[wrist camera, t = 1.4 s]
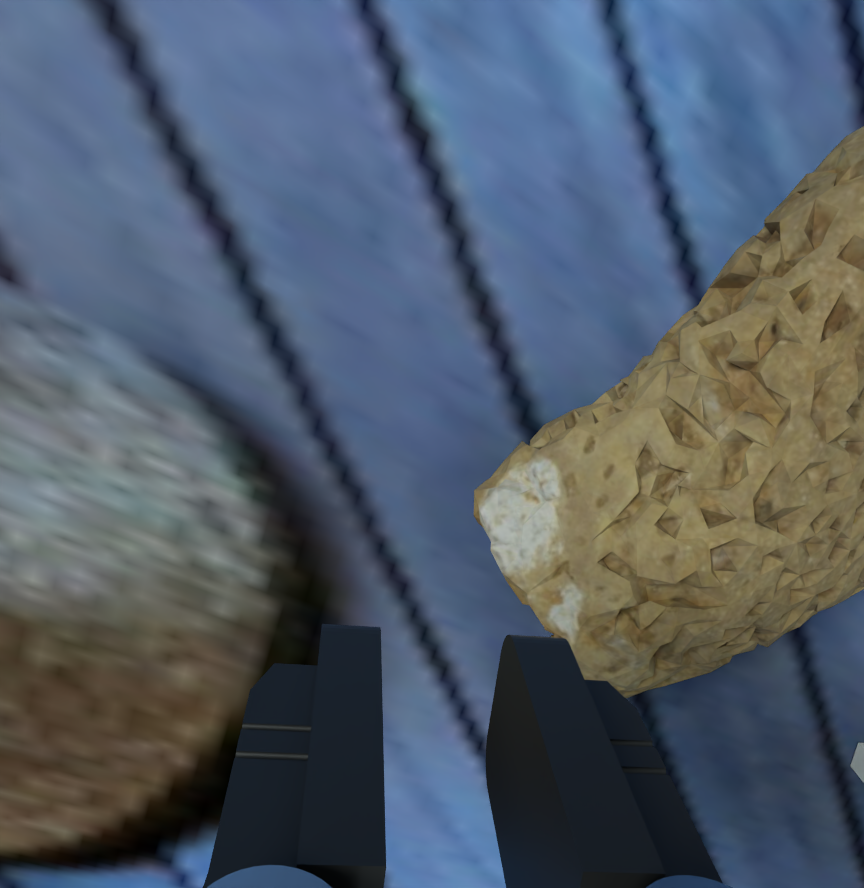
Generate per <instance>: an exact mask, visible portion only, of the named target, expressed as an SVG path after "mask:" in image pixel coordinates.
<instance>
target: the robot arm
mask: <svg viewBox="0 0 864 888" xmlns="http://www.w3.org/2000/svg"><path fill="white" fill-rule="evenodd" d="M486 778H487V788H488V793H489V799H490V804H491V809H492V815H493V820H494V825H495V830H496V836H497V841H498V846H499V851H500V857H501V862H502V867H503V873H504V878H505V883H506V888H732V887H730V886H728V885H725V884H723V883H722V881H721V879H720V877H719V875H718V873H717V871H716V869H715V867H714V865H713V863H712V861H711V858H710V856H709V854H708V852H707V850H706V848H705V846H704V844H703V842H702V840H701V838H700V836H699V834H698V832H697V830H696V828H695V826H694V824H693V822H692V820H691V818H690V816H689V814H688V812H687V810H686V808H685V806H684V804H683V802H682V800H681V798H680V796H679V794H678V792H677V790H676V788H675V786H674V784H673V782H672V780H671V778H670V775H666V767H665V765H664V763H663V761H662V759H661V757H660V755H659V753H658V751H657V749H656V747H653V746H652V739H651V737H650V735H649V733H648V731H647V729H646V727H645V725H644V723H643V721H642V719H641V717H640V715H639V713H638V711H637V709H636V708H635V707H634V706H633V705H632V704H631V703H630V702H629V701H628V700H627V699H626V698H625V697H624V696H622V695H621V694H620V693H619V692H618V691H617V690H616V689H615V688H614V687H613V686H612V685H611V684H610V683H609V682H608V681H599V680H584V677H583V675H582V673H581V670H580V668H579V665H578V663H577V661H576V658H575V656H574V654H573V651H572V649H571V646H570V644H569V642H568V641H567V640H566V639H565V638H555V637H537V636H520V635H507V636H506V638H505V640H504V642H503V646H502V650H501V656H500V662H499V668H498V674H497V680H496V686H495V692H494V698H493V705H492V711H491V717H490V723H489V729H488V735H487V745H486ZM385 871H386V844H385V800H384V755H383V711H382V666H381V630H380V627H366V626H348V625H331V624H322V630H321V639H320V649H319V658H318V666H312V665H293V664H274V665H273V666H272V667H271V668H270V669H269V670H268V671H267V672H266V673H265V674H264V676H263V677H262V678H261V679H260V680H259V681H258V682H257V683H256V684H255V685H254V687H253V688H252V689H251V690H250V693H249V698H248V702H247V706H246V711H245V715H244V719H243V726H242V729H241V732H240V737H239V741H238V745H237V750H236V757H235V758H234V763H233V767H232V771H231V776H230V780H229V784H228V789H227V793H226V797H225V802H224V806H223V810H222V815H221V819H220V823H219V828H218V832H217V836H216V841H215V845H214V849H213V854H212V858H211V862H210V867H209V871H208V874H207V877H206V880H205V884H204V886H203V888H383V887H384V879H385Z"/></svg>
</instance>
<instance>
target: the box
mask: <svg viewBox="0 0 864 888" xmlns="http://www.w3.org/2000/svg"><path fill="white" fill-rule="evenodd" d="M850 766H851V768H852V769H853V770H854V771H855V773H856V774H857V775H858V776H859V778H860V779H861V780H862V781H863V782H864V743H858V745H857V748H856V751H855V754H854V757H853V760H852V762H851V765H850Z"/></svg>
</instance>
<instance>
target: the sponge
mask: <svg viewBox="0 0 864 888" xmlns="http://www.w3.org/2000/svg"><path fill="white" fill-rule="evenodd" d="M764 224H765V226H764V228H763V229H762V230H761V231H760V232H759V233H758V234H757V235H756V236H754V235H753V236H752V237H751V238H750V239H749V240H748V241H746V242H745V243H744V244H743V245H742V246H741V247H739V248H738V249H737V250H736V252H735V253H734V254H733V255H732V257H731V258H730V259H729V260H728V262H727V263H726V264H725V266H724V267H723V269H722V270H721V271H720V273H719V274H718V276H717V277H716V279H715V280H714V281H713V283H712V284H711V286H710V287H709V289H708V290H707V292H706V293H705V295H704V297H703V298H702V300H701V302H700V303H699V305H698V306H696V307H695V308H693V309H692V310H690V311H689V312H687V313H686V314H684V315H683V316H682V317H681V318H680V319H679V320H678V321H677V322H676V323H675V324H674V326H673V327H672V328H671V329H670V330H669V331H668V332H667V333H666V334H665V336H664V337H663V338H662V339H661V340H660V341H659V342H658V344H657V345H656V348H655V349H654V351H653V353H652V355H649V356H644V357H643V358H642V359H641V361H640V362H639V363H638V365H637V366H636V367H635V369H634V370H633V371H632V373H631V374H630V375H629V376H628V377H626V378H624V379H621V380H620V381H622V382H620V383H619V384H617V385H616V386H614V387H613V388H611V389H610V390H608V391H607V392H605V393H604V394H603V395H602V396H601V397H600V398H599V399H598V400H596V401H595V402H594V403H593V404H591V405H588V406H584V407H581V408H577V409H574V410H572V411H570V412H568V413H566V414H564V415H562V416H560V417H558V418H556V419H554V420H553V421H551V422H549V423H547V424H545V425H544V426H543V427H542V428H541V429H540V430H539V431H538V432H537V434H536V435H535V436H534V437H533V438H532V439H531V440H530V446H529V445H527V444H526V443H525V442H523V441H522V442H521V443H520V444H519V445H518V446H517V447H516V448H515V449H514V451H513V452H512V453H511V454H510V455H509V456H508V457H507V458H506V459H505V460H504V462H503V463H502V464H501V465H500V466H499V468H498V469H497V470H496V471H495V473H494V474H493V475H492V476H491V478H490V479H488V480H486V481H485V482H484V483H482V484H481V485H480V486H479V487H478V488H477V489H475V490H474V517H475V518H476V520H477V522H478V523H479V524H480V525H481V526H482V527H483V528H484V529H485V531H486V533H487V535H488V537H489V538H490V540H491V552H492V554H493V556H494V558H495V560H496V562H497V564H498V566H499V568H500V570H501V572H502V573H503V575H504V577H505V579H506V581H507V582H508V584H509V585H510V587H511V588H512V589H513V591H514V592H515V594H516V595H517V597H518V598H519V599H520V601H521V602H522V604H525V605H530V607H531V608H532V610H533V611H534V613H535V614H536V616H537V617H538V619H539V620H540V622H541V623H542V625H544V628H545V630H547V631H549V632H551V633H553V634H554V635H551V637H555V638H565V639H566V640H567V641H568V642H569V644H570V646H571V649H572V651H573V654H574V656H575V658H576V661H577V663H578V665H579V668H580V670H581V673H582V675H583V677H584V680H599V681H608V682H609V683H610V684H611V685H612V686H613V687H614V688H615V689H616V690H617V691H618V692H619V693H620V694H621V695H622V696H624V697H625V698H628V697H631V696H633V695H636V694H638V693H641V692H643V691H646V690H650V689H654V688H659V687H663V686H666V685H670V684H673V683H676V682H680V681H683V680H686V679H689V678H693V677H696V676H700V675H703V674H707V673H710V672H712V671H714V670H716V669H718V668H719V667H721V666H723V665H725V664H727V663H729V662H730V660H731V658H732V656H734V655H736V654H740V653H744V652H748V651H752V650H754V649H755V647H756V645H757V644H760V645H763V646H765V647H769V646H770V645H771V644H772V643H774V642H775V641H776V640H777V639H778V638H780V637H781V636H782V635H783V634H785V633H787V632H789V631H791V630H794V629H796V628H798V627H800V626H801V625H802V624H803V623H805V622H806V621H807V620H808V619H809V618H810V617H811V616H813V615H815V614H817V612H818V611H821V610H824V609H827V608H830V607H832V606H834V605H836V604H838V603H840V602H842V601H844V600H846V599H848V598H849V597H850V596H852V595H854V594H856V593H857V592H859V591H861V590H863V589H864V126H863V127H862V128H860V129H858V130H856V131H855V132H853V133H851V134H849V135H848V136H846V137H845V138H844V139H843V140H842V141H841V142H840V143H839V144H838V145H837V146H836V147H835V148H834V149H833V150H832V151H831V153H830V154H829V155H828V156H827V157H826V158H825V159H824V160H823V161H822V163H821V164H820V165H819V166H818V167H817V168H816V170H815V171H814V172H813V173H809V174H806V175H805V176H804V178H803V179H802V180H801V181H800V182H799V183H798V185H797V186H796V187H795V188H794V189H793V191H792V192H791V193H790V194H789V195H788V196H787V198H786V199H785V200H784V201H783V202H782V203H781V204H780V205H779V206H778V207H777V208H776V209H775V210H774V211H773V212H772V213H771V214H770V215H769V216H768V217H767V218H766V219H765V222H764Z"/></svg>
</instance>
